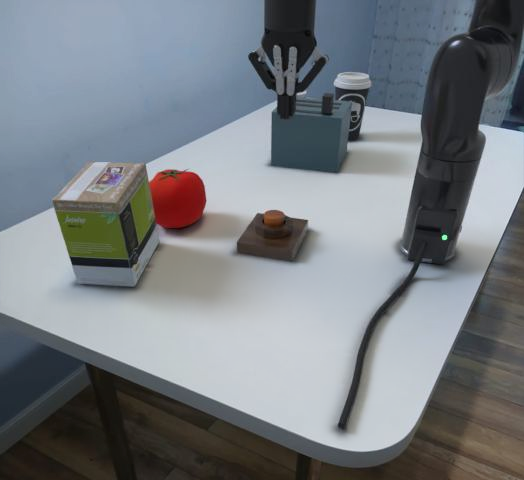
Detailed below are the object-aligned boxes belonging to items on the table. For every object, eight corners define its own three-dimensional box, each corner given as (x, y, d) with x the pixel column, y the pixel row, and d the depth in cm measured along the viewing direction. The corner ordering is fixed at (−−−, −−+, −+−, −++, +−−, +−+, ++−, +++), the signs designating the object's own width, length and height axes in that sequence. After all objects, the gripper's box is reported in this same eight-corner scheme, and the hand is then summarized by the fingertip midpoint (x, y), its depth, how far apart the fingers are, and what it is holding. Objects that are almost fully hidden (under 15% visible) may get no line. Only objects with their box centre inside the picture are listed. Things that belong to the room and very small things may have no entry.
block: (291, 261, 85) (292, 240, 82) (237, 253, 87) (236, 232, 85) (307, 230, 94) (308, 210, 91) (257, 223, 96) (257, 203, 93)
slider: (330, 114, 109) (331, 96, 106) (321, 113, 109) (322, 96, 107) (332, 110, 111) (333, 93, 108) (323, 109, 111) (324, 92, 109)
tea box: (107, 239, 91) (89, 158, 81) (160, 243, 90) (148, 161, 80) (75, 285, 79) (49, 197, 70) (135, 289, 79) (118, 200, 69)
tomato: (221, 221, 96) (218, 168, 90) (167, 243, 90) (159, 188, 83) (187, 203, 103) (182, 152, 96) (134, 222, 96) (124, 169, 89)
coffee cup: (371, 137, 134) (380, 75, 125) (349, 145, 130) (356, 82, 120) (344, 129, 140) (350, 69, 130) (321, 136, 135) (326, 75, 125)
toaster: (336, 172, 115) (342, 117, 107) (270, 165, 119) (271, 111, 111) (346, 152, 126) (352, 101, 118) (285, 146, 129) (287, 95, 121)
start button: (281, 229, 86) (281, 219, 85) (261, 226, 87) (261, 217, 86) (286, 220, 89) (286, 211, 88) (267, 217, 90) (267, 208, 89)
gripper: (238, -10, 70) (241, 121, 81) (330, -6, 66) (319, 129, 78) (255, -14, 75) (255, 108, 86) (341, -11, 72) (330, 115, 83)
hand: (286, 118), depth 82 cm, fingers closed
